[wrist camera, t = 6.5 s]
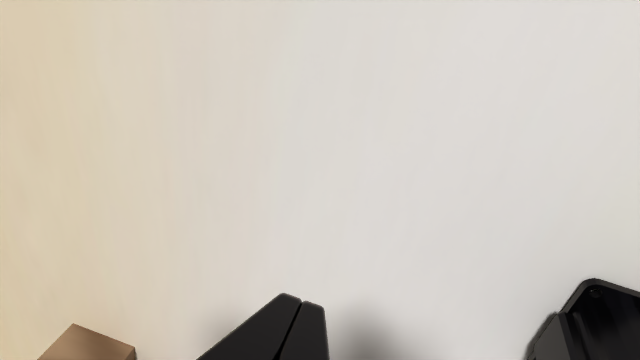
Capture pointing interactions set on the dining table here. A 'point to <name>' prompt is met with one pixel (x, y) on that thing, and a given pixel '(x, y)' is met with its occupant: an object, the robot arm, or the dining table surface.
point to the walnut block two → (87, 347)
